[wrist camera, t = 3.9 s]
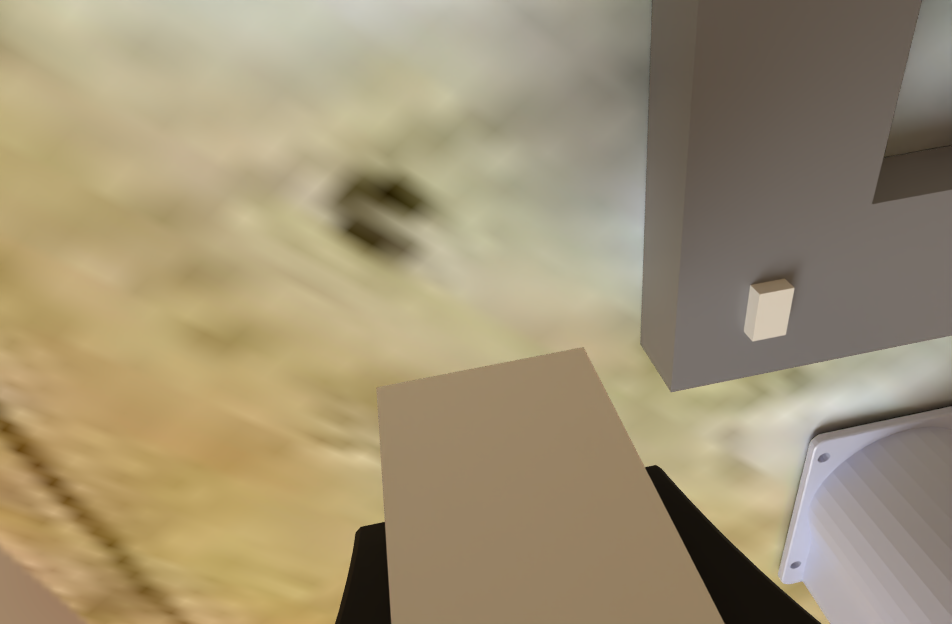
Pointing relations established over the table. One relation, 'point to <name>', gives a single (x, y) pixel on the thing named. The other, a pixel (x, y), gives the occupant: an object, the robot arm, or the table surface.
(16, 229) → the table surface
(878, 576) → the robot arm
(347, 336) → the table surface
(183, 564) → the table surface
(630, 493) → the plug
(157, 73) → the table surface
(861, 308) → the socket block
